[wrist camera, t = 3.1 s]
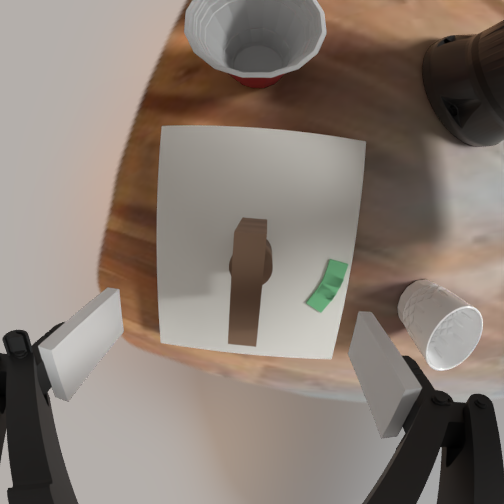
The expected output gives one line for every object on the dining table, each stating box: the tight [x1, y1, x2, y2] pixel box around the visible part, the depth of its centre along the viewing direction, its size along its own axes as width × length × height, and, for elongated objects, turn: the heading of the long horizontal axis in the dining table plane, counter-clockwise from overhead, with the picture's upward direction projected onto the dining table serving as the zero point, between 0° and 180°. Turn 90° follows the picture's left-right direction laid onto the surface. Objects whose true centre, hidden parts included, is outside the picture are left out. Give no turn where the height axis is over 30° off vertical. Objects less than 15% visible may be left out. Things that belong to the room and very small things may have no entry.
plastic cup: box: [184, 0, 327, 88], centre depth 22 cm, size 11×11×12 cm
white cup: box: [397, 279, 483, 371], centre depth 29 cm, size 8×8×10 cm
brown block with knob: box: [228, 217, 273, 347], centre depth 25 cm, size 13×4×10 cm, turn 176°
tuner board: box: [157, 125, 366, 359], centre depth 31 cm, size 24×20×4 cm
